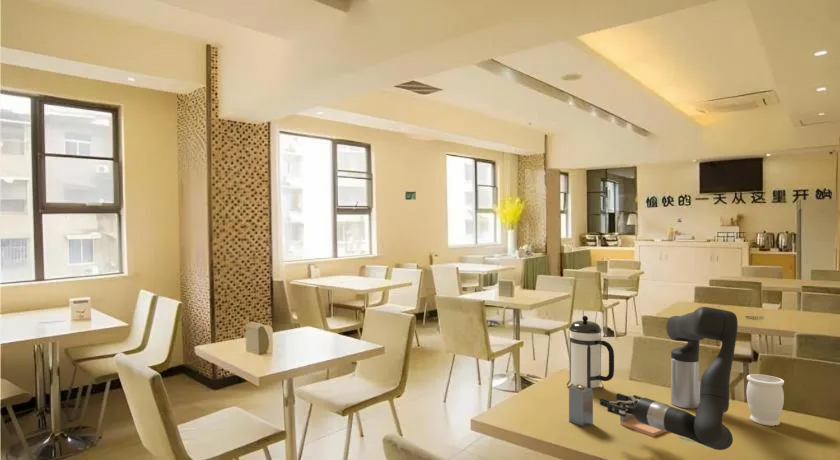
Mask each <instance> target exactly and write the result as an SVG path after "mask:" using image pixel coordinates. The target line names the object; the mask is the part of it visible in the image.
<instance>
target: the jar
mask: <svg viewBox="0 0 840 460" xmlns="http://www.w3.org/2000/svg"><path fill="white" fill-rule="evenodd" d="M746 379H747V381H748V382H747V385H746V401H747V406H748V411H749V412H750V414H751V415H750V416H749V419H750V420H751V421H752V422H754V423H756V424H759V425H762V426H763V425H765V426H771V427H775V425H776V426H779V425H780V424H781V422H780V420H779V418H780V417H781V415H782V413H783V408H784V401H785V393H784V389H783V385H784V384H785V380H784V379H782V378H780V377H776V376H772V375H767V374H762V373H761V374H760V373H755V374H754V373H753V374H752V373H751V374H748V375H746Z"/></svg>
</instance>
